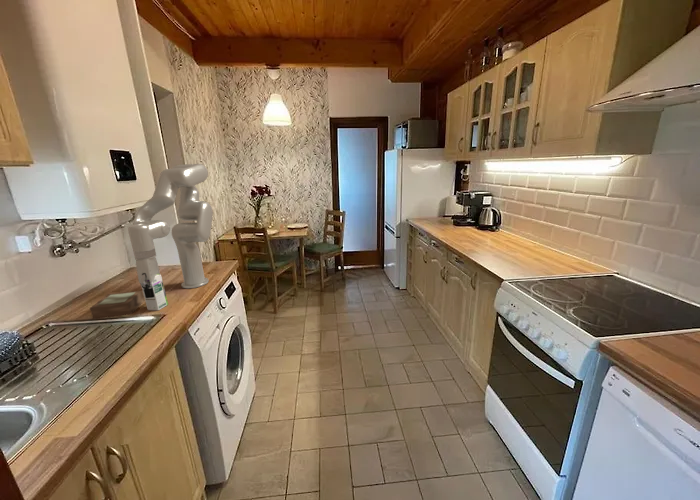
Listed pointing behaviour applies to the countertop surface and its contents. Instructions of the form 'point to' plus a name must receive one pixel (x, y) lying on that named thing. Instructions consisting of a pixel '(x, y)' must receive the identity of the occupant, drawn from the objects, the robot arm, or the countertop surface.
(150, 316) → the countertop surface
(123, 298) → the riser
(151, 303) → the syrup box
